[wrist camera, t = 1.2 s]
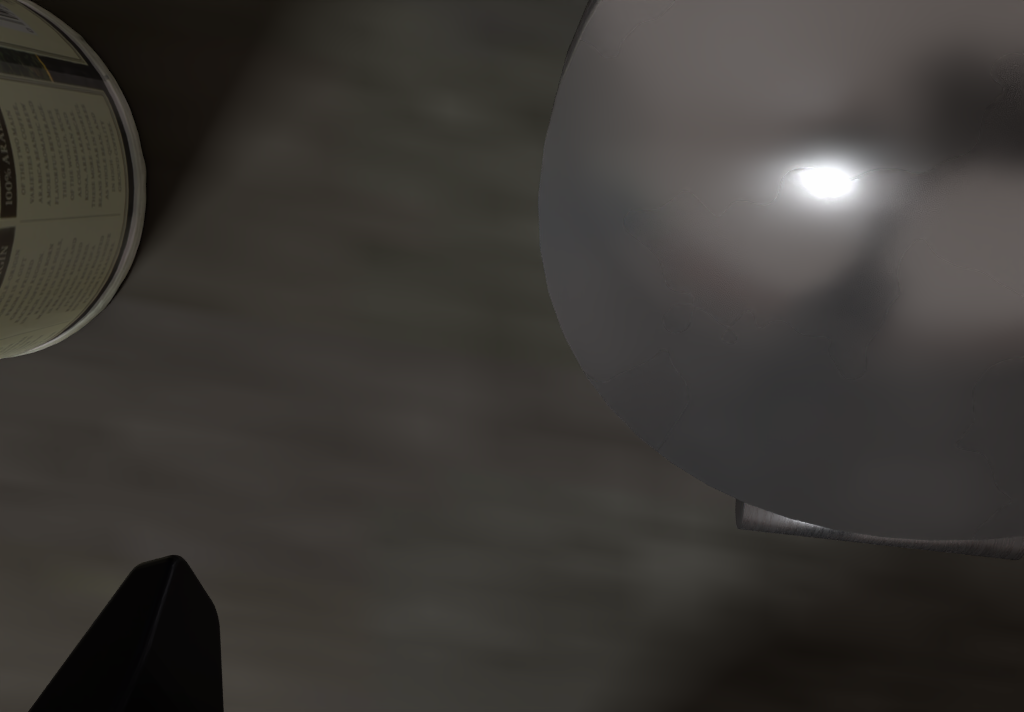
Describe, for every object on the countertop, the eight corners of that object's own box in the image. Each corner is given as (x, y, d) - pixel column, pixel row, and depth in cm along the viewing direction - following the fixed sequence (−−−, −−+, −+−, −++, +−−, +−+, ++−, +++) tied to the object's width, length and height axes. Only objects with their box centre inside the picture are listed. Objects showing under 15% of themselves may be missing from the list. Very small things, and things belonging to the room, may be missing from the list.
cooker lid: (1216, 546, 18) (1275, 659, 16) (533, 472, 19) (518, 569, 17) (1913, -340, 9) (2211, -309, 7) (570, -377, 10) (546, -360, 9)
